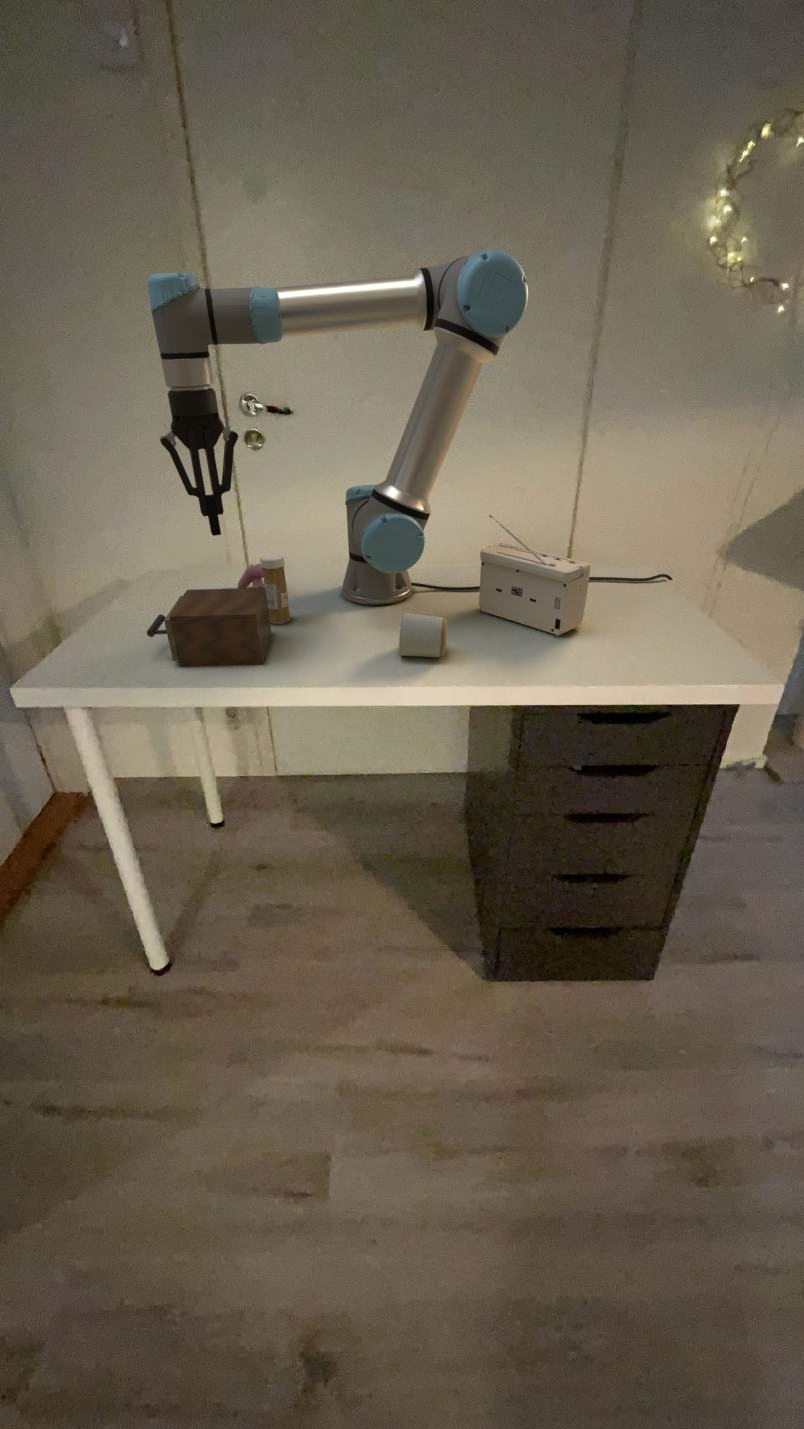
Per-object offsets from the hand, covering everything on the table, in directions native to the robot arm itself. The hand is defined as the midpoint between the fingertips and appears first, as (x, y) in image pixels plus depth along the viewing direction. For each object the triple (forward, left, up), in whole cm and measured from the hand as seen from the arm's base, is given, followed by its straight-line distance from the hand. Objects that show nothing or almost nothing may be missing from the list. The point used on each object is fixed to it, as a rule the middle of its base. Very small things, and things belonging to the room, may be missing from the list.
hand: (215, 533), depth 118 cm
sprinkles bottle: (-9, -5, -20) cm, 22 cm away
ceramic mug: (-37, +11, -20) cm, 43 cm away
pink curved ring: (-3, -22, -20) cm, 29 cm away
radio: (-59, -2, -20) cm, 62 cm away
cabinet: (-1, +8, -19) cm, 21 cm away
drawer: (+3, +8, -19) cm, 21 cm away
